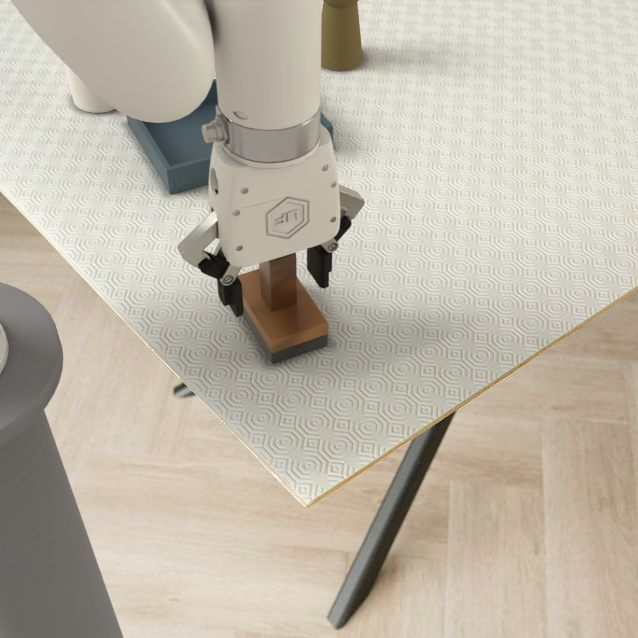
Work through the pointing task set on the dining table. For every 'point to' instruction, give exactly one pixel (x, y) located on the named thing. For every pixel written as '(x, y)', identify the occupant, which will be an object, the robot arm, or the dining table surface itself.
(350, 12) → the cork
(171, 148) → the tray
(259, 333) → the brush
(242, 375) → the dining table surface
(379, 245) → the dining table surface
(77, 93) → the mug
